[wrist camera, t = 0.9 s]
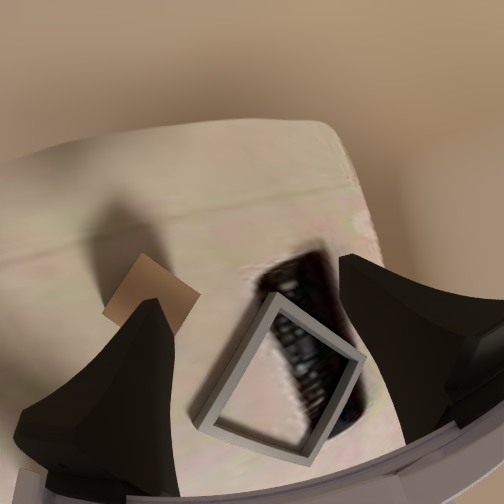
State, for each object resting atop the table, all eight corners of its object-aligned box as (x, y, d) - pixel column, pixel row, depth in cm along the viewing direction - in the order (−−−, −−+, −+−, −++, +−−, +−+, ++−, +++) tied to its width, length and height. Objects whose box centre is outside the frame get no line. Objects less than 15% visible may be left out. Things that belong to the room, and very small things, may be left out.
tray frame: (301, 461, 26) (309, 467, 25) (192, 423, 22) (197, 430, 21) (357, 355, 31) (367, 356, 30) (269, 292, 27) (277, 291, 26)
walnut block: (151, 341, 22) (163, 354, 17) (105, 309, 21) (101, 313, 15) (180, 295, 24) (200, 294, 18) (135, 263, 22) (142, 252, 17)
